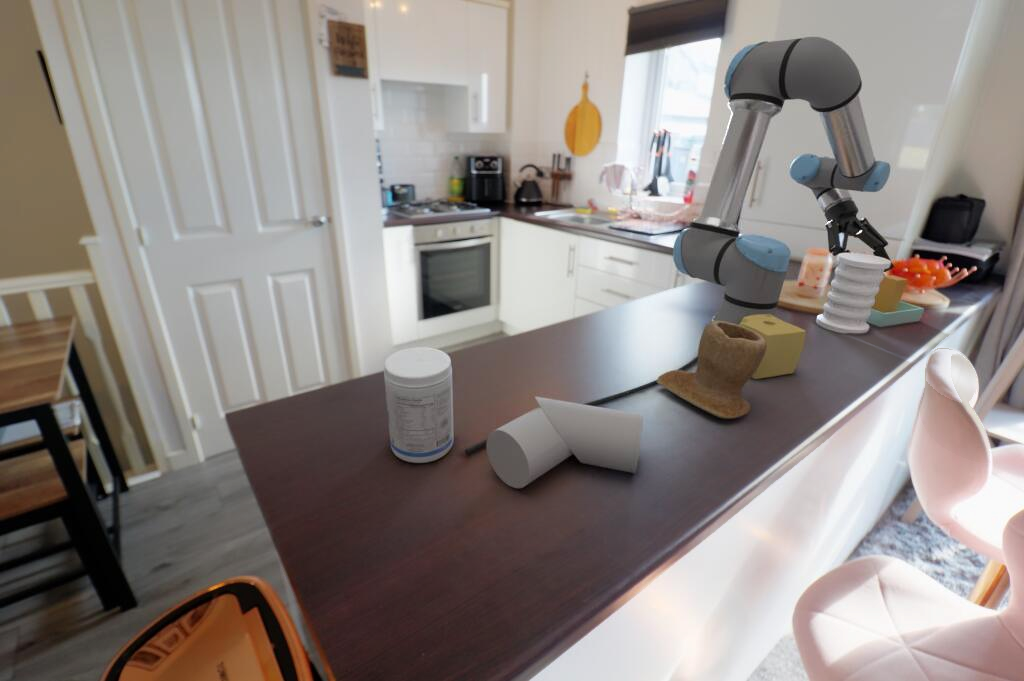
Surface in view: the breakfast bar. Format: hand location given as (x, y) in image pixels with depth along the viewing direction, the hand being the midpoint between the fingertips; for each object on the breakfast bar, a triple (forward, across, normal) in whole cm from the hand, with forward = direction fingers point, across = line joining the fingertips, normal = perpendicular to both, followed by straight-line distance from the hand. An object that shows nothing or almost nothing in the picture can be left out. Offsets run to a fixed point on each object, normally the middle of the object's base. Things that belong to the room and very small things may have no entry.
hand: (872, 271), depth 131 cm
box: (+12, 0, -4) cm, 13 cm away
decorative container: (+13, +16, -3) cm, 21 cm away
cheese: (+22, +56, +5) cm, 60 cm away
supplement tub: (+25, +128, +10) cm, 131 cm away
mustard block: (+12, 0, -3) cm, 13 cm away
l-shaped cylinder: (+33, +108, +17) cm, 115 cm away
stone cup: (+27, +76, +11) cm, 82 cm away
